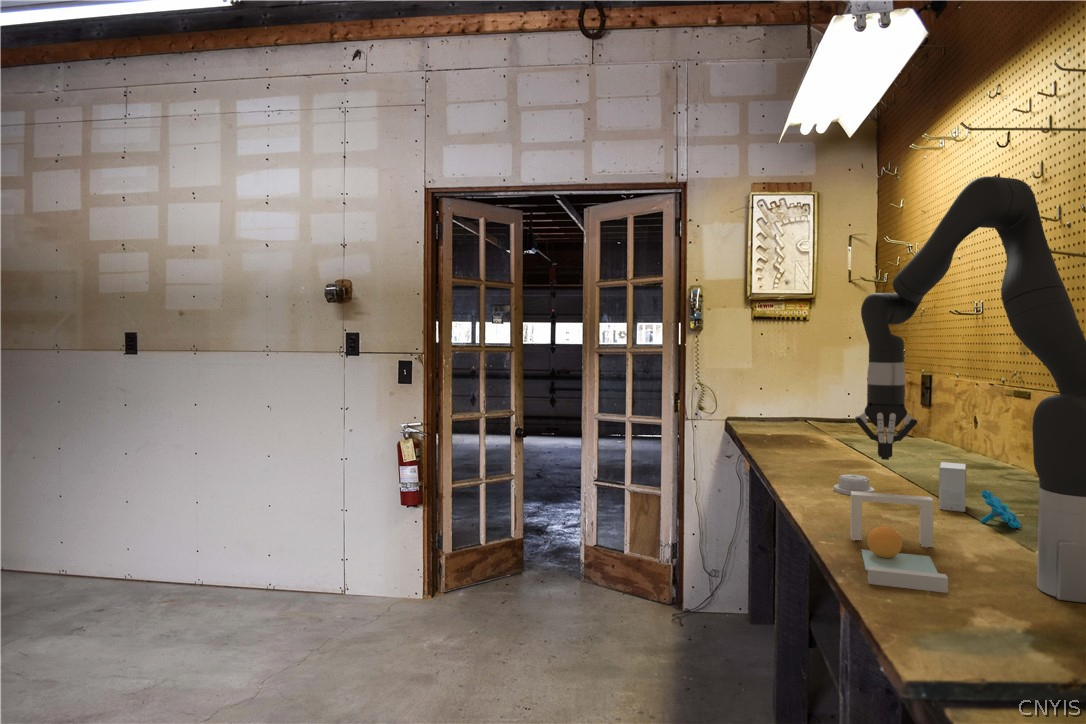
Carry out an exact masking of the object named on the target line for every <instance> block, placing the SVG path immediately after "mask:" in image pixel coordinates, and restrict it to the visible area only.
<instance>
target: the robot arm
mask: <svg viewBox="0 0 1086 724" xmlns="http://www.w3.org/2000/svg"><path fill="white" fill-rule="evenodd" d="M979 228H983V229H985V228H986V229H995V231H996V232H997V234H998V235H999V239H1000V240H1001V243H1002V246H1003V248H1004V251H1005V256H1006V257H1005V258H1006V266H1005V269H1004V275H1003V278H1002V283H1001V289H1000V297H1001V302H1002V305H1003V308H1004V311H1005V313H1006V316H1007V319H1008V322H1009V324H1010V327H1011V328H1012V331H1013V332H1014V334H1015V336H1016V337H1017V338H1018V340H1019V341H1021V343H1022V344H1023V345H1024V346H1025V348H1027V349H1028V351H1030V352H1031V353H1032V354H1033V355H1034V356H1035V357H1036V358H1037V359H1038V360H1039V361H1040V362H1041V363H1042V365H1044V366H1045V368H1046V369H1047V370H1048V372H1049V373H1050V374H1051V376H1052V379H1053V380H1054V382H1055V384H1056V386H1057V389H1058V392H1059V394H1055V395H1050V396H1047V397H1045V398H1044V399H1042V400H1040V402H1039V403H1038V405H1037V406H1036V408H1035V409H1034V412H1033V417H1032V426H1031V427H1032V453H1033V465H1034V466H1033V467H1034V470H1035V472H1036V475H1037V476H1038V480H1039V481H1038V483H1039V484H1038V485H1039V488H1038V516H1037V517H1038V521H1037V522H1038V523H1037V524H1038V525H1037V560H1036V561H1037V569H1036V571H1037V572H1036V573H1037V575H1036V576H1037V577H1036V578H1037V579H1036V587H1037V588H1038V590H1040V591H1041V592H1043V593H1045V594H1047V595H1049V596H1052V597H1055V598H1056V599H1057V600H1058V601H1068V602H1076V603H1085V604H1086V337H1085V335H1084V333H1083V332H1084V331H1082V327H1081V326H1080V323H1079V321H1078V317H1077V315H1076V313H1075V310H1074V307H1073V303H1072V302H1071V299H1070V296H1069V294H1068V291H1067V289H1066V286H1065V284H1064V282H1063V279H1062V277H1061V275H1060V273H1059V271H1058V268H1057V266H1056V262H1055V259H1054V256H1053V254H1052V251H1051V249H1050V247H1049V243H1048V241H1047V238H1046V235H1045V231H1044V227H1043V222H1042V218H1041V215H1040V210H1039V206H1038V202H1037V199H1036V196H1035V194H1034V191H1033V189H1032V187H1031V186H1030V185H1029V184H1028V183H1026V182H1025V181H1023V180H1021V179H1018V178H1014V177H1013V178H1011V177H1003V176H1002V177H1001V176H980V177H977V178H974V179H973V180H971V181H969V183H968V184H967V185H965V187H964V188H963V189H961V192H960V193H959V194H958V195H957V197H956V198H955V199H954V200H953V202H952V204H951V205H950V207H949V208H948V210H947V212H946V213H945V214H944V216H943V217H942V219H941V220H940V222H939V223H938V225H937V226H936V227H935V229H934V231H933V232H932V233H931V235H930V236H929V238H928V239H927V241H926V242H925V243H924V244H923V245H922V247H921V248H920V250H918V252H917V253H915V255H914V256H913V257H912V258H911V259H910V260H909V262H907V263H906V265H904V267H903V268H902V269H901V270H899V272H898V273H897V274H896V275H895V276H894V278H893V280H892V288H893V290H894V292H875V293H871V294H868V295H867V296H866V297H865V298H864V300H863V302H862V304H861V308H860V309H861V310H860V315H861V321H862V323H863V328H864V331H865V335H866V338H867V343H868V368H867V376H866V390H867V391H866V406H865V408H864V412H863V413H862V414H860V415H858V416H855V417H854V420H855V422H856V423H857V424H858V426H859V427H860V428H861V429H862V430H863V432H864V433H865V434H866V436H868V437H869V439H870V440H873V441H875V442H877V455H878V457H879V458H880V459H881V460H883V461H889V459H890V458H892V457H893V444H894V443H895V442H901V441H902V440H903V439H904V438H905V437H906V436H907V435H908V434H909V433H910V431H912V429H913V428H914V427H915V426H916V425H917V424H918V421H917V419H916V418H914V417H912V416H910V415H909V414H908V410H907V409H906V404H905V402H906V401H905V400H906V399H905V397H906V395H905V394H906V369H905V359H904V358H905V343H904V339H903V338H902V337H901V336H898V335H895V334H893V333H892V332H891V329H890V327H889V325H901V324H904V323H906V322H907V321H908V320H910V319H911V318H912V317H913V316H914V315H915V312H916V311H917V310H918V308H919V306H920V304H921V303H922V301H923V298H924V296H926V294H928V293H929V292H930V291H931V290H932V289H933V288H934V287H935V286H936V285H938V284H939V282H940V281H941V280H942V279H943V278H944V276H946V274H947V273H948V271H949V270H950V267H951V264H952V261H953V257H954V255H955V251H956V249H957V248H958V246H959V245H960V243H962V242H963V240H965V239H966V238H967V237H968V236H970V234H972V233H973V232H975V231H976V230H978V229H979ZM867 418H868V419H869V420H870V422H871V423H872V424H873V426H875V427H876V433H877V434H876V433H874V431H872V430H871V428H870V427H869V426H868V424H867V423H868V420H867ZM902 422H903V424H904V425H903V426H902V427H901V428H900V429H899V430H898V432H897V433H895V429H896V427H898V426H899V425H900V424H901V423H902ZM885 428H886V434H885Z"/></svg>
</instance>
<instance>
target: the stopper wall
mask: <svg viewBox="0 0 1086 724" xmlns="http://www.w3.org/2000/svg"><path fill="white" fill-rule="evenodd" d="M867 583H868V585H875V586H884V587H892V588H902V589H909V590H911V589H912V590H917V591H925V592H926V591H927V592H934V593H936V592H937V593H942V594H944V593H945V594H948V593H949V577H948V576H947V574H946V573H939V572H938V573H929V572H920V571H910V570H901V569H891V568H882V567H873V566H868V571H867Z"/></svg>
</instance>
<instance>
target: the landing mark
mask: <svg viewBox="0 0 1086 724" xmlns="http://www.w3.org/2000/svg"><path fill="white" fill-rule="evenodd" d="M860 551H862V552H861V555H862V560H863V563H864V569H865V571H867V572H868V566H873V567H882V568H891V569H901V570H910V571H920V572H929V573H938V574H939V572H938V570H937V568H936V566H935V564H934V562H933V560H932V559H931V556H929V555H921V554H911V553H900V552H899V553H898V554H897V555H896V556H894V557H892V558H882V557H879V556H877V555H875V554H874V553H873V552H872V551H871V550H870V549H860Z"/></svg>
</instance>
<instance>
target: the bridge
mask: <svg viewBox="0 0 1086 724" xmlns="http://www.w3.org/2000/svg"><path fill="white" fill-rule="evenodd" d="M863 502H870V503H871V502H873V503H882V504H883V503H884V504H885V503H886V504H896V505H897V504H898V505H899V504H900V505H909V506H910V505H911V506H912V505H913V506H919V542H920V543H919V545H920V544H921V545H920V546H922V547H921V548H928V547H932V548H931V549H934V502H935V501H934V499H933V497H932V496H924V495H922V496H921V495H910V494H897V493H895V494H894V493H880V492H874V493H868V492H854V491H851V495H850V540H851V541H855V540H861V541H860V542H862V541H863Z"/></svg>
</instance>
